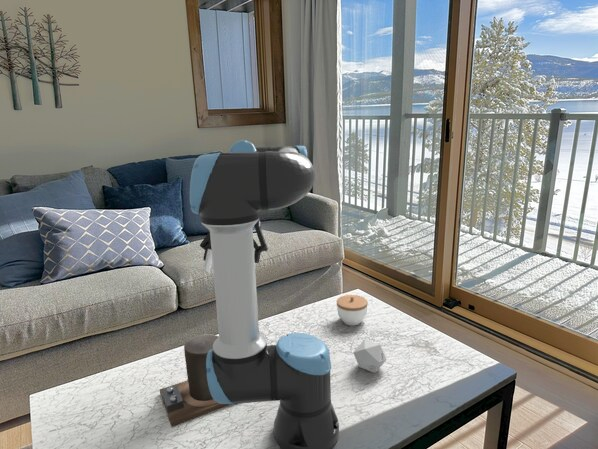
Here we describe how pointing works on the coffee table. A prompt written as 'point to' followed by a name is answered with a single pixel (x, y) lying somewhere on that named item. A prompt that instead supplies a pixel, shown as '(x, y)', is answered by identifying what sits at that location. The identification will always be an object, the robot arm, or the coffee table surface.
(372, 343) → the die
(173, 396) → the dark grey studded block
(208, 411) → the board
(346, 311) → the lidded jar
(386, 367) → the coffee table surface
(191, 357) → the pillar candle
